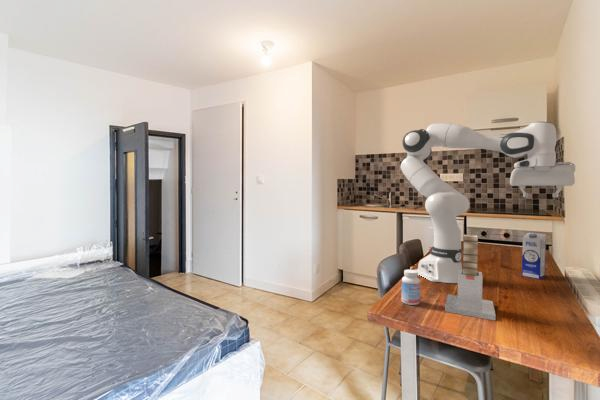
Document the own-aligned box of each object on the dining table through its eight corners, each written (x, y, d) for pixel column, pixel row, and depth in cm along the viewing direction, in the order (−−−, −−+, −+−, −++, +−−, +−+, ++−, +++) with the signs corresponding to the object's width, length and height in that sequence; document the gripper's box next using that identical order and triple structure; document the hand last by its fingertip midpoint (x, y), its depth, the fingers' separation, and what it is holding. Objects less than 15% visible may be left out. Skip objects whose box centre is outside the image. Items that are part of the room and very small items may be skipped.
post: (462, 286, 100) (463, 236, 100) (462, 283, 104) (463, 234, 103) (477, 288, 98) (478, 237, 98) (476, 285, 102) (477, 235, 101)
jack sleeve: (444, 311, 99) (445, 275, 98) (447, 298, 111) (448, 266, 111) (495, 320, 92) (496, 281, 92) (492, 305, 104) (493, 271, 104)
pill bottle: (411, 306, 103) (411, 274, 102) (397, 301, 108) (398, 270, 108) (423, 303, 105) (423, 272, 105) (409, 298, 111) (410, 268, 111)
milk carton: (545, 277, 138) (546, 233, 137) (539, 279, 134) (541, 235, 134) (527, 273, 144) (528, 232, 143) (521, 275, 140) (522, 233, 139)
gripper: (573, 162, 118) (571, 197, 118) (509, 164, 128) (508, 196, 128) (578, 160, 112) (576, 197, 113) (511, 163, 122) (510, 197, 123)
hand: (540, 197), depth 120 cm, fingers open, 8 cm apart
